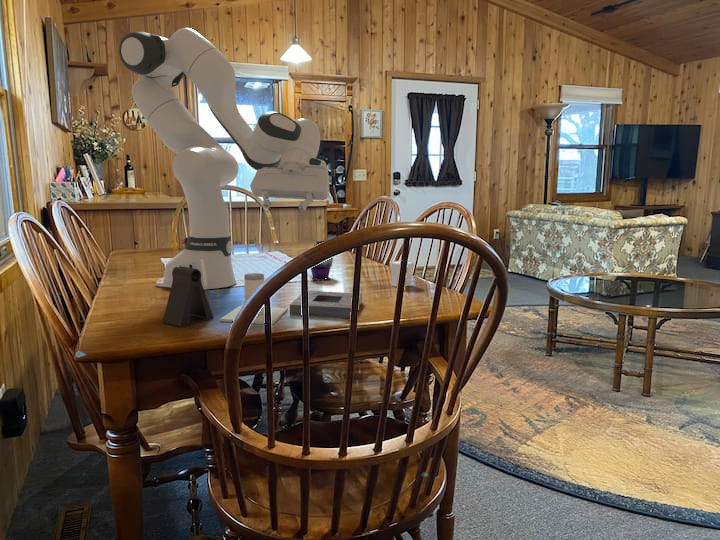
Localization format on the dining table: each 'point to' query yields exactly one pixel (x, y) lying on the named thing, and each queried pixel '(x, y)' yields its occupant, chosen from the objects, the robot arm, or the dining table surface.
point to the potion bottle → (322, 267)
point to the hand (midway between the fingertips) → (283, 208)
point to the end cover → (253, 285)
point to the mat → (260, 318)
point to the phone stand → (187, 299)
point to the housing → (326, 304)
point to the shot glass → (396, 270)
